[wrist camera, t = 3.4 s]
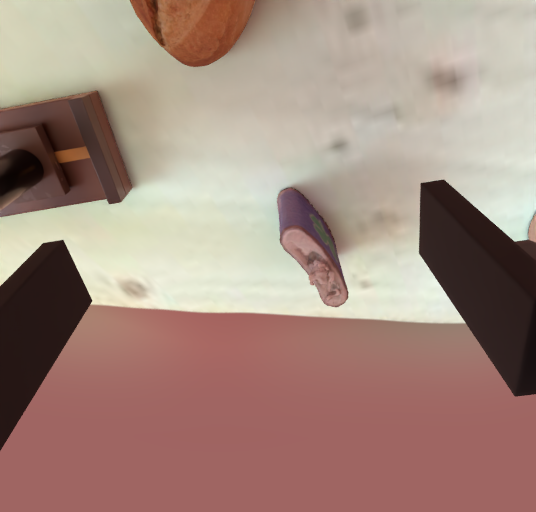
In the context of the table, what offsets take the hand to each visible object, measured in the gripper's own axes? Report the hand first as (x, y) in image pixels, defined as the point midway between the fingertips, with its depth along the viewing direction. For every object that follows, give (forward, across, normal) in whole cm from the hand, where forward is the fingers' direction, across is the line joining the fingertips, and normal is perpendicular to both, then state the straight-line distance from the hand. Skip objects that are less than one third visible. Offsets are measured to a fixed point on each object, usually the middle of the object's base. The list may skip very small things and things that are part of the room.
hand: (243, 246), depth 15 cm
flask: (+25, +3, -12) cm, 28 cm away
